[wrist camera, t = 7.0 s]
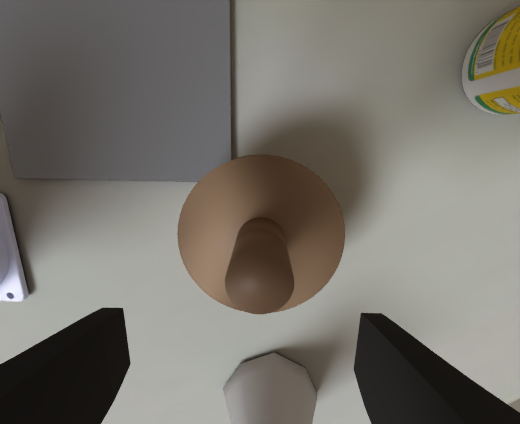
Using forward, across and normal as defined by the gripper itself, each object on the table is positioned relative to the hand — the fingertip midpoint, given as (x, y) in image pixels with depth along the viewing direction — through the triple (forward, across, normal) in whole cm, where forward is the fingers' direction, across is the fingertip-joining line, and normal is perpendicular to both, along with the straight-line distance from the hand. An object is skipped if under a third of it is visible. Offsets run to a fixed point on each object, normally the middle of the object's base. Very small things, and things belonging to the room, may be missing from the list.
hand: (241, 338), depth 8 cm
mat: (+10, +8, -10) cm, 17 cm away
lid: (+7, 0, -1) cm, 7 cm away
